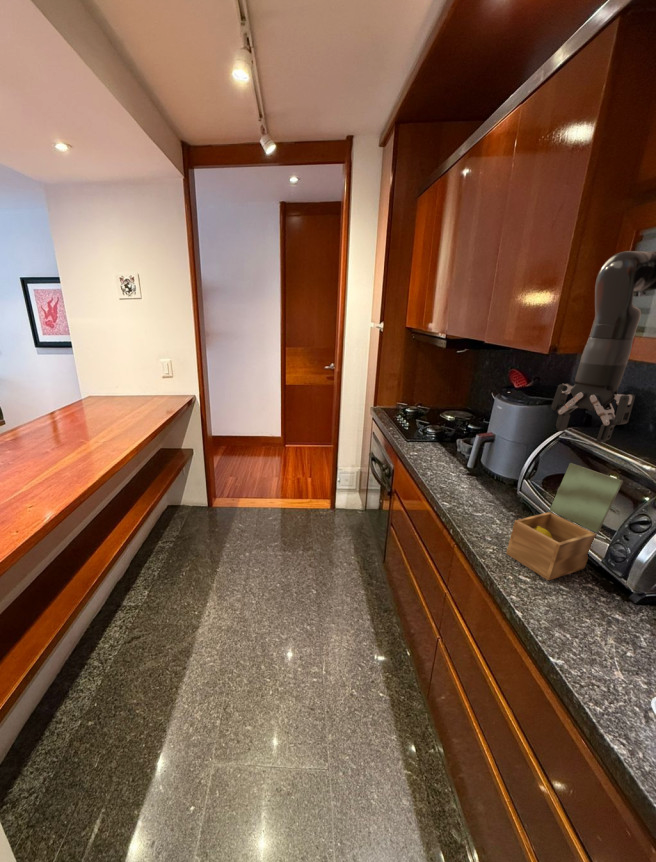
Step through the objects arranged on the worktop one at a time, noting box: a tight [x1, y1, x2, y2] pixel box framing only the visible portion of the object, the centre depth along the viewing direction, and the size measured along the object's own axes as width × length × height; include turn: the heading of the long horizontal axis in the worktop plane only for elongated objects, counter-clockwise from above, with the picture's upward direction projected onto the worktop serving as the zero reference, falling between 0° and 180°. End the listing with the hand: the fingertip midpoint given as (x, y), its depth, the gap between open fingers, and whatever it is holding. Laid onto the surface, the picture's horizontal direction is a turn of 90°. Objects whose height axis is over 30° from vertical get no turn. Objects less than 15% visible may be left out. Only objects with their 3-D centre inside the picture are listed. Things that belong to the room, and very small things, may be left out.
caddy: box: [505, 511, 598, 581], centre depth 97 cm, size 13×12×10 cm
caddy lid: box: [549, 462, 624, 534], centre depth 95 cm, size 13×12×1 cm
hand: (580, 435), depth 86 cm, fingers open, 8 cm apart
